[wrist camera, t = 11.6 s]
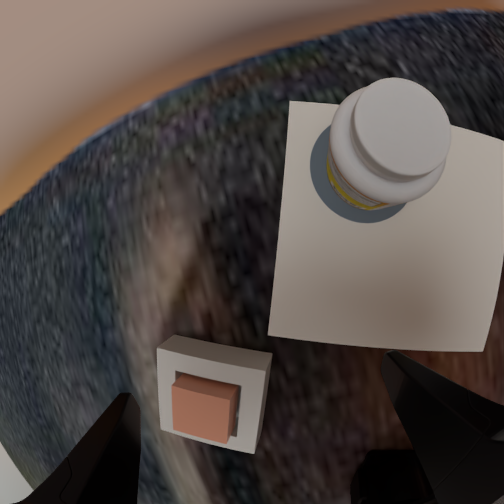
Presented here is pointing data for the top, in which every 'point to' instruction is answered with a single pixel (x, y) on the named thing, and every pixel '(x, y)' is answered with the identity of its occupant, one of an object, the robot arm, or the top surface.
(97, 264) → the top surface
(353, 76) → the top surface
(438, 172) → the supplement bottle
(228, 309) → the top surface
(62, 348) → the top surface
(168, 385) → the button housing
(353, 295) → the drawing paper
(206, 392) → the button
